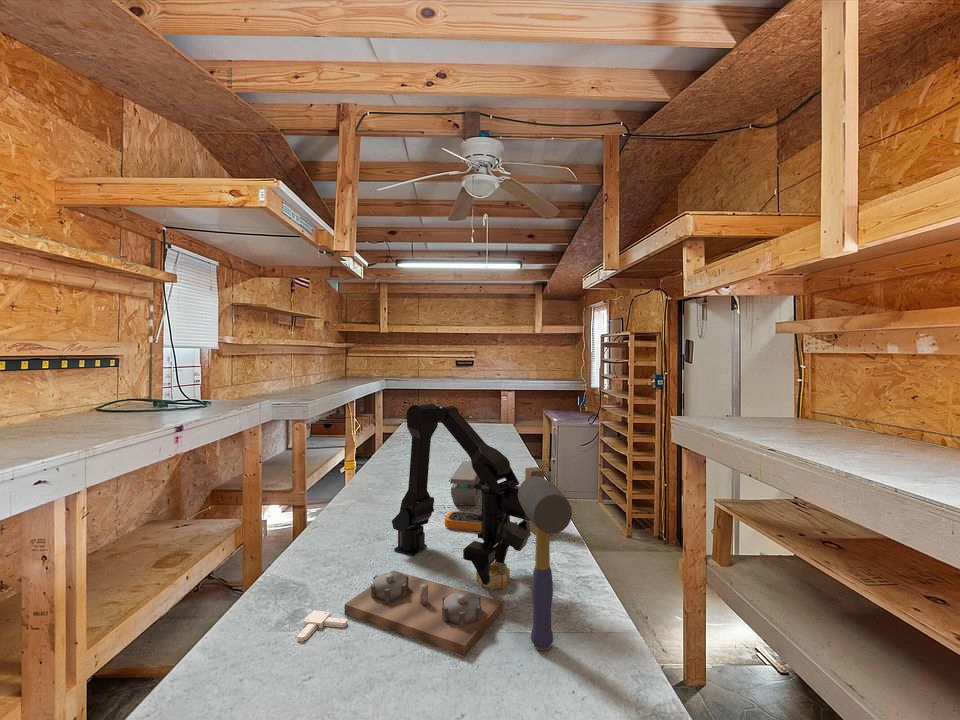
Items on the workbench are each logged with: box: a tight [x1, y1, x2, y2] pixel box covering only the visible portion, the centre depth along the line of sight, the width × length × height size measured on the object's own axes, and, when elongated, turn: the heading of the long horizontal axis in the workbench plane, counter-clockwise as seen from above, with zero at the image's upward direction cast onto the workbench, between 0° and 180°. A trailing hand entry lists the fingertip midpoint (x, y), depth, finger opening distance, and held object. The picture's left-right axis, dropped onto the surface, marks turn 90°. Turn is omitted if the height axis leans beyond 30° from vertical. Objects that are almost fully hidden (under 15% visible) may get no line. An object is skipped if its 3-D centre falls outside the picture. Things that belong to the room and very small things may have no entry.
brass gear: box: [475, 560, 511, 591], centre depth 106 cm, size 8×8×3 cm
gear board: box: [344, 570, 504, 658], centre depth 93 cm, size 28×16×6 cm, turn 63°
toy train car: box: [449, 460, 481, 506], centre depth 164 cm, size 25×8×11 cm, turn 172°
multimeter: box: [444, 510, 481, 532], centre depth 139 cm, size 9×18×3 cm, turn 78°
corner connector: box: [296, 609, 348, 643], centre depth 87 cm, size 8×8×2 cm
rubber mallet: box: [518, 476, 573, 651], centre depth 82 cm, size 12×8×30 cm, turn 9°
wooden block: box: [524, 466, 552, 536], centre depth 136 cm, size 9×4×18 cm, turn 19°
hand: (492, 576), depth 106 cm, fingers closed on brass gear, 7 cm apart
